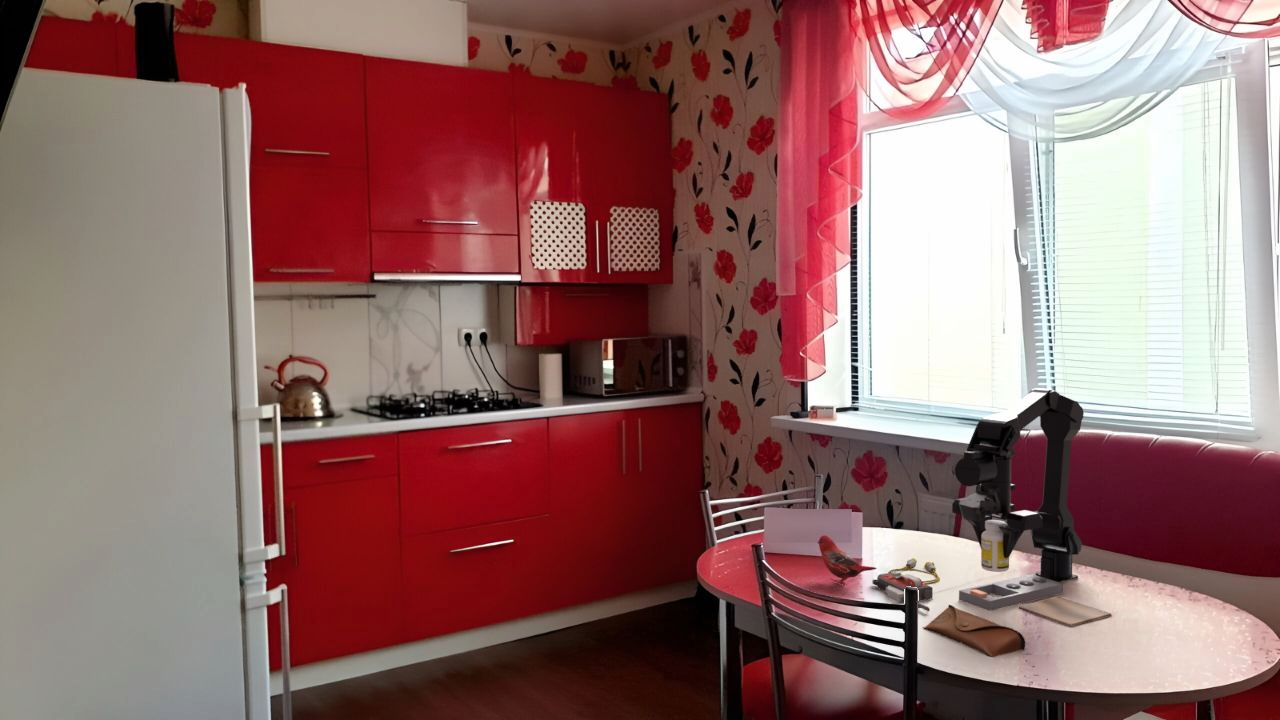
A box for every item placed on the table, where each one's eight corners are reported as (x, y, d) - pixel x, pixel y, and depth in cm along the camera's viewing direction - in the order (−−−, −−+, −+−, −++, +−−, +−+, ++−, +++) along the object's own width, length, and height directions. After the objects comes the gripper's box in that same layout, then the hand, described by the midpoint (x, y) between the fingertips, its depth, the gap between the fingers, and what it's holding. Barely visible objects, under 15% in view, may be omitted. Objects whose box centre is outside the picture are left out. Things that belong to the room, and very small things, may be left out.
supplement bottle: (1009, 566, 199) (1010, 520, 198) (1008, 573, 194) (1008, 526, 193) (982, 563, 201) (982, 517, 200) (979, 570, 196) (980, 523, 195)
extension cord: (960, 576, 216) (960, 567, 216) (918, 591, 207) (918, 581, 206) (914, 564, 226) (914, 556, 226) (872, 578, 216) (872, 569, 216)
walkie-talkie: (863, 588, 208) (924, 617, 190) (863, 568, 208) (924, 595, 189) (896, 583, 212) (959, 611, 193) (897, 563, 211) (959, 589, 193)
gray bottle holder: (1031, 582, 209) (1031, 571, 209) (1063, 593, 202) (1063, 580, 202) (958, 599, 199) (959, 587, 198) (989, 611, 192) (989, 598, 191)
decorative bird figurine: (821, 575, 217) (821, 532, 216) (881, 595, 202) (881, 549, 201) (812, 577, 215) (812, 534, 215) (871, 598, 201) (871, 551, 200)
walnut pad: (1058, 598, 198) (1058, 596, 198) (1111, 615, 188) (1111, 613, 188) (1018, 608, 193) (1018, 606, 193) (1070, 626, 182) (1070, 624, 182)
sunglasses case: (917, 627, 183) (931, 594, 184) (940, 639, 186) (953, 607, 188) (994, 658, 167) (1008, 623, 169) (1017, 671, 171) (1030, 636, 172)
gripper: (933, 476, 200) (932, 549, 202) (1005, 492, 184) (1004, 571, 185) (971, 470, 206) (970, 541, 207) (1044, 485, 189) (1043, 563, 190)
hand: (995, 554), depth 197 cm, fingers closed on supplement bottle, 5 cm apart
